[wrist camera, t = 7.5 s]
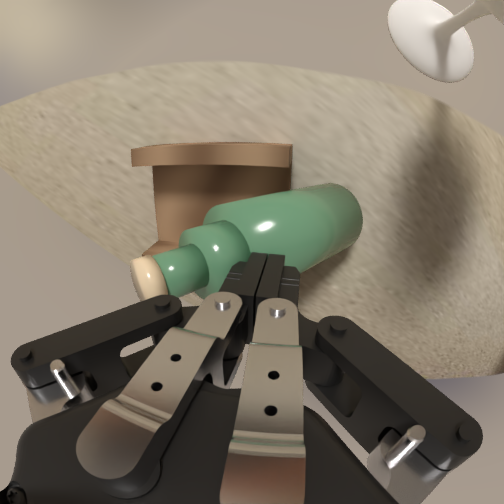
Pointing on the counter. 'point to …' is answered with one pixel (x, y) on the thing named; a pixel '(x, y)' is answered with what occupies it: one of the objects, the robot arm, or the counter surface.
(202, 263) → the bottle
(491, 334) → the counter surface
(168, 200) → the brown wooden u-shaped block
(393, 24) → the wineglass
